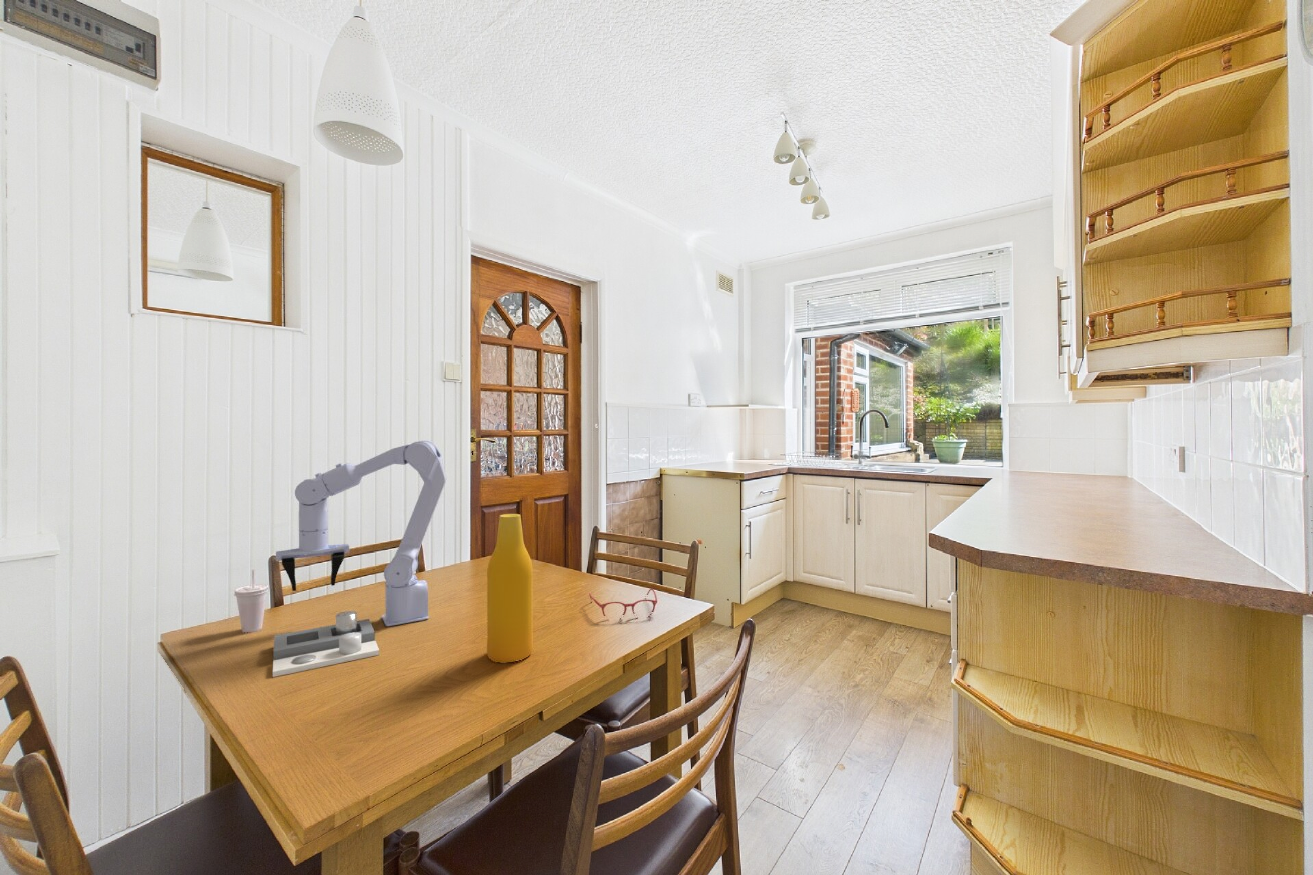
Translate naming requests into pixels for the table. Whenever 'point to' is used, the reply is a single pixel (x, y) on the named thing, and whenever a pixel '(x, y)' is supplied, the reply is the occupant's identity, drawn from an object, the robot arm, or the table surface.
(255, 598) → the smoothie
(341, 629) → the pin
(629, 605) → the red eyeglasses
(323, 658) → the white peg base plate
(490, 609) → the beer bottle
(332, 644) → the grey square hole plate
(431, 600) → the table surface
